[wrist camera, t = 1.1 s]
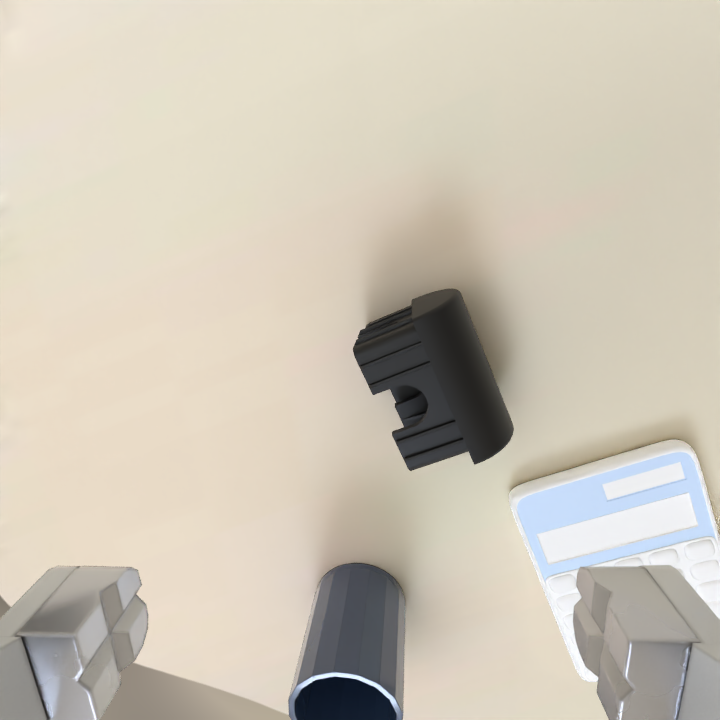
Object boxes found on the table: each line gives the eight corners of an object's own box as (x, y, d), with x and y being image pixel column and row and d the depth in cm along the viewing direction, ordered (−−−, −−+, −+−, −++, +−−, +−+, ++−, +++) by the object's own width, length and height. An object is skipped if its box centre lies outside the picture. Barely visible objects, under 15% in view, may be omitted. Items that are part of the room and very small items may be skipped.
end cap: (503, 404, 34) (524, 450, 28) (414, 436, 36) (413, 486, 30) (453, 279, 32) (463, 298, 25) (359, 319, 33) (347, 346, 27)
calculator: (576, 669, 41) (583, 690, 40) (501, 485, 36) (506, 500, 35) (740, 635, 38) (756, 656, 37) (683, 430, 33) (698, 443, 32)
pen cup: (386, 554, 40) (378, 663, 30) (417, 623, 42) (418, 746, 32) (303, 574, 41) (270, 683, 32) (336, 640, 43) (314, 761, 34)
